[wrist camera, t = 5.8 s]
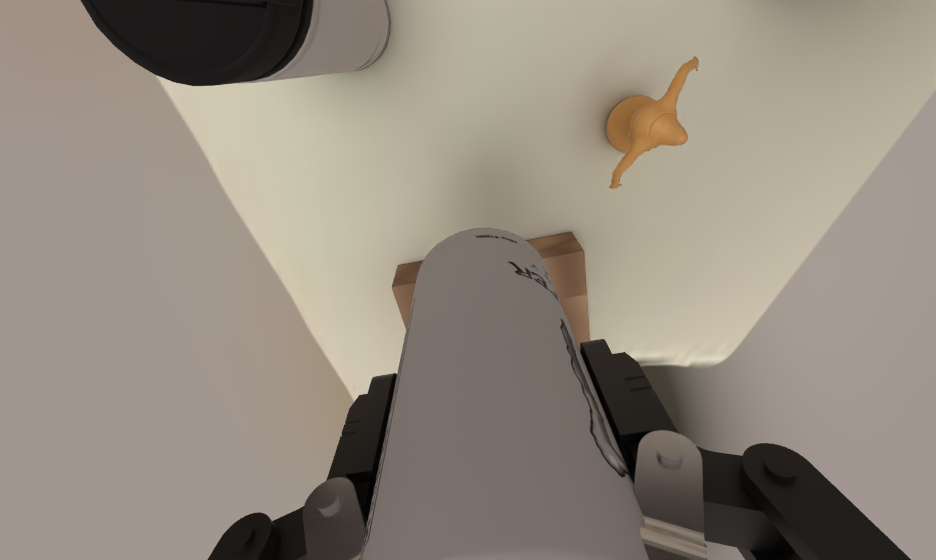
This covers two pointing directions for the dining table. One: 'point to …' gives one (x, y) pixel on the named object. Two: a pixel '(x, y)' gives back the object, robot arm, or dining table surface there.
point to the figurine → (647, 123)
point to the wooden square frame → (563, 269)
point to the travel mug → (244, 37)
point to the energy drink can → (497, 422)
